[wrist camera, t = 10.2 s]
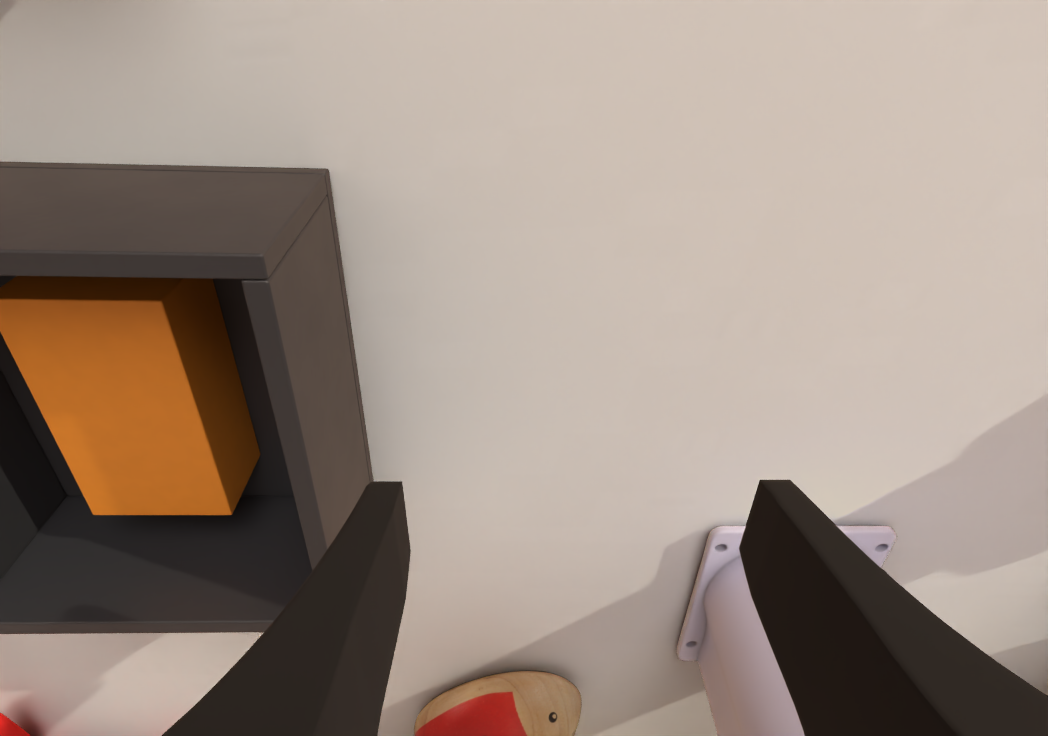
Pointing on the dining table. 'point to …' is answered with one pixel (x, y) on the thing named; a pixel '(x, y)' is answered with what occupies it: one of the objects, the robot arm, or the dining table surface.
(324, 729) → the robot arm
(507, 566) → the dining table surface
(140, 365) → the block
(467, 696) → the ladybug figurine
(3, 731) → the toy rocket
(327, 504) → the open cabinet
